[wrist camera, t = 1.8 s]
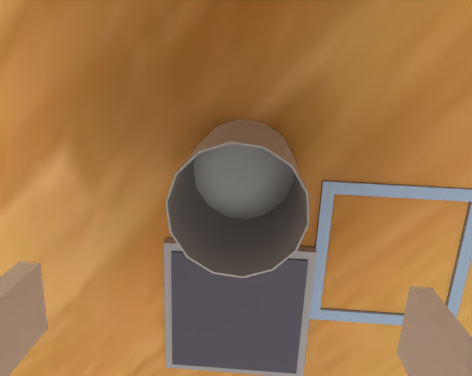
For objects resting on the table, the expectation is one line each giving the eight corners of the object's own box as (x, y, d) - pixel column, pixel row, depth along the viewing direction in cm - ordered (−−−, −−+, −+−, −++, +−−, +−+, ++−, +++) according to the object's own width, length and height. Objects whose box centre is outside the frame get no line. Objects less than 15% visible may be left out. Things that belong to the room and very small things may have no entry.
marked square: (322, 180, 32) (323, 181, 32) (485, 189, 31) (487, 190, 31) (307, 316, 36) (308, 318, 36) (452, 326, 35) (454, 328, 35)
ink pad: (166, 237, 34) (162, 244, 33) (315, 247, 34) (317, 254, 32) (167, 360, 38) (164, 369, 37) (301, 370, 38) (303, 380, 36)
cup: (211, 228, 34) (192, 291, 24) (178, 138, 32) (144, 168, 22) (306, 201, 33) (326, 257, 23) (279, 105, 30) (288, 123, 21)
